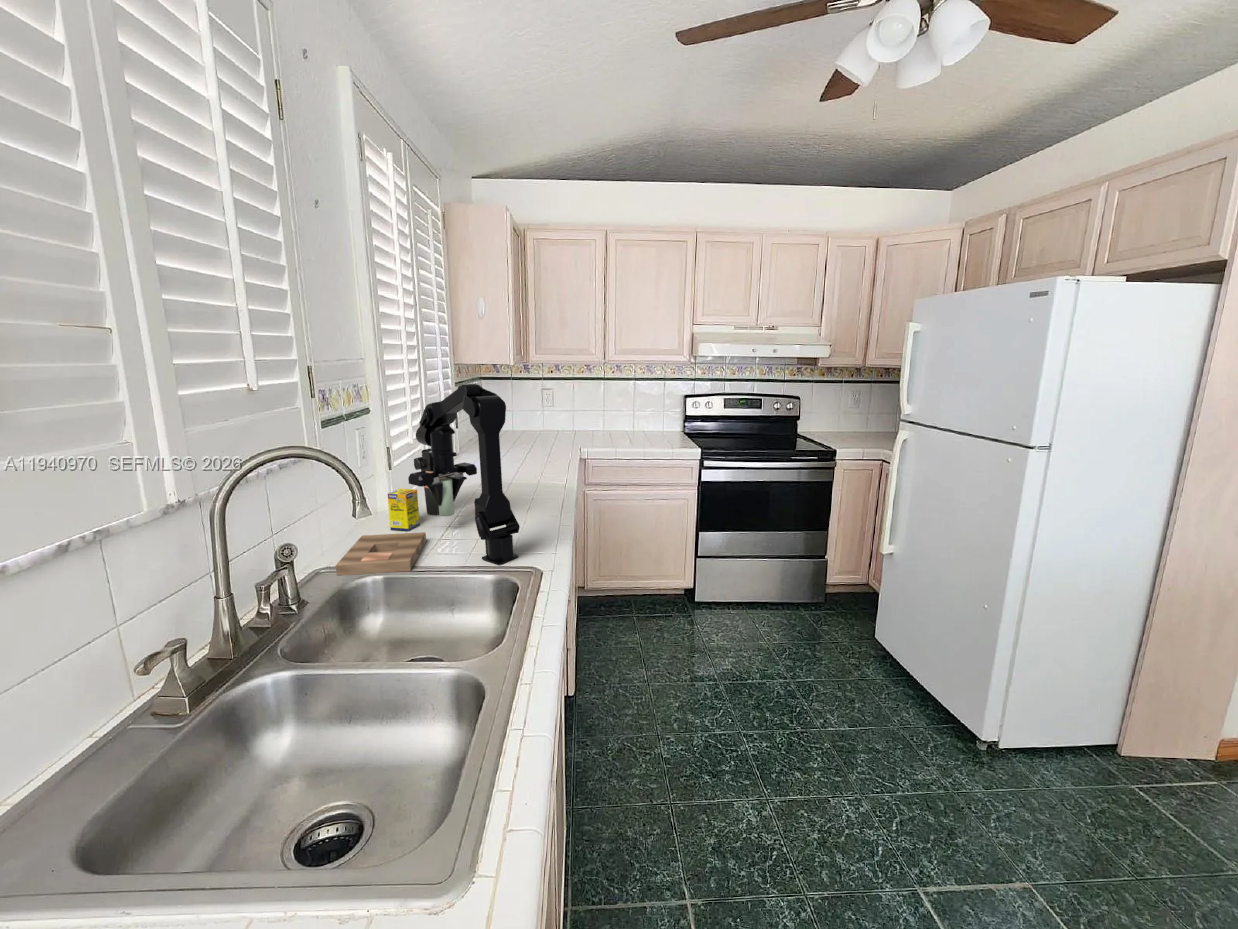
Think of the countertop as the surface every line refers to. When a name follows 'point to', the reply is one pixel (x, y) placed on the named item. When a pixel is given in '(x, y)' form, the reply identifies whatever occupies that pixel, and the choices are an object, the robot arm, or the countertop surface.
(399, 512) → the supplement box
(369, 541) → the hole plate
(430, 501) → the travel mug
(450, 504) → the peg
